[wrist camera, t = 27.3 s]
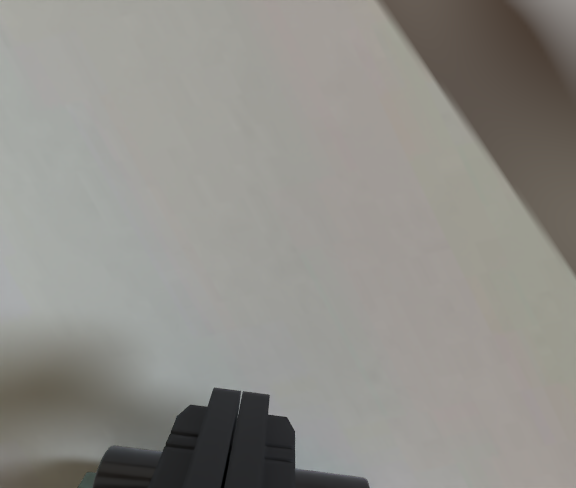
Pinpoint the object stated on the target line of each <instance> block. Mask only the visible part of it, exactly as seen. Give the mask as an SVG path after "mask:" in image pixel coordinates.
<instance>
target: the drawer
mask: <svg viewBox="0 0 576 488" xmlns="http://www.w3.org/2000/svg"><path fill="white" fill-rule="evenodd" d="M161 454H162V452H161V451H153V450H145V449H138V448H130V447H122V446H111V447H109V448H108V450H107V451H106V453H105V454H104V456H103V458H102V460H101V462H100V464H99V467H98V469H97V472H96V473H93V472H87V473H86V475H85V476H84V478H83V480H82V481H81V483H80V484H79V486H78V488H148V486H149V483H150V481H151V478H152V476H153V474H154V471H155V469H156V466H157V464H158V461H159V459H160V457H161ZM295 488H370V487H369V484H368V481H367V480H366V479H365V478H363V477H355V476H347V475H340V474H332V473H324V472H316V471H308V470H301V469H295Z"/></svg>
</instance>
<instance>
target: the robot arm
mask: <svg viewBox="0 0 576 488" xmlns="http://www.w3.org/2000/svg"><path fill="white" fill-rule="evenodd" d="M240 395H241V391H236V390H228V389H221V388H214V389H213V391H212V395H211V398H210V401H209V404H208V407H204V406H197V405H189V406H188V407H187V408H186V409H185V410H184V411H183V412H181V413H180V414H179V415H178V416H177V418H176V420H175V423H174V425H173V428H172V430H171V434H170V435H169V437H168V440H167V442H166V446H165V447H164V449H163V452H162V454H161V457H160V459H159V461H158V464H157V466H156V469H155V471H154V474H153V476H152V478H151V481H150V483H149V486H148V488H295V431H294V429H293V427H292V426H291V424H290V422H289V420H288V418H287V417H281V416H274V415H268V408H269V396H270V395H267V394H259V393H252V392H244V391H243V394H242V399H241V404H240V409H239V403H240ZM238 411H239V414H238ZM237 418H238V419H237Z"/></svg>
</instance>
